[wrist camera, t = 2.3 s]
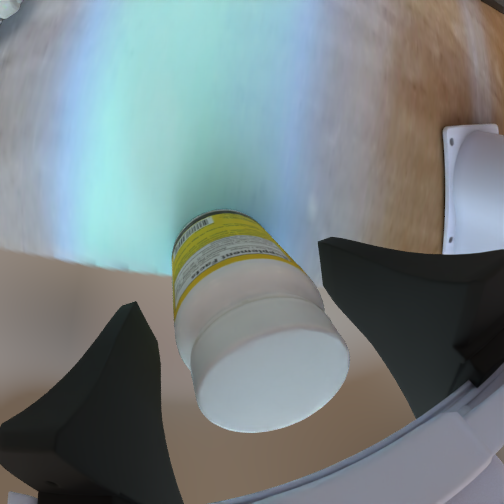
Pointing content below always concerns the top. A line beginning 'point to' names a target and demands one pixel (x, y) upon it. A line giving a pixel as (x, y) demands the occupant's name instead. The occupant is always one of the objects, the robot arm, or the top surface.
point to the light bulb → (8, 8)
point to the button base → (496, 4)
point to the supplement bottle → (251, 326)
